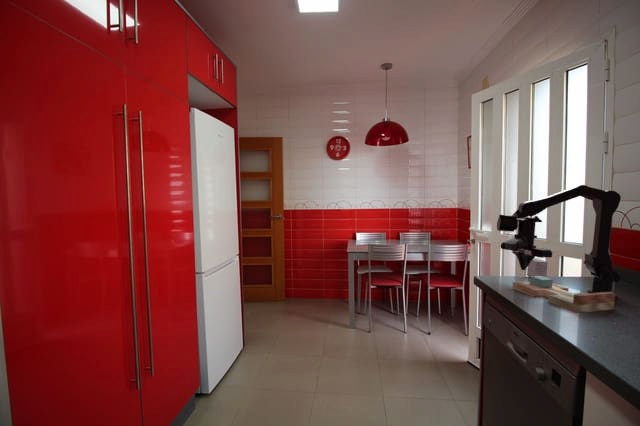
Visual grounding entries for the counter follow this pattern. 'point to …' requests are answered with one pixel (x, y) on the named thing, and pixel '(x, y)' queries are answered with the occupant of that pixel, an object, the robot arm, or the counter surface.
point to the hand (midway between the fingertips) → (523, 269)
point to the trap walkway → (569, 297)
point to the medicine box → (537, 268)
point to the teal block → (541, 281)
